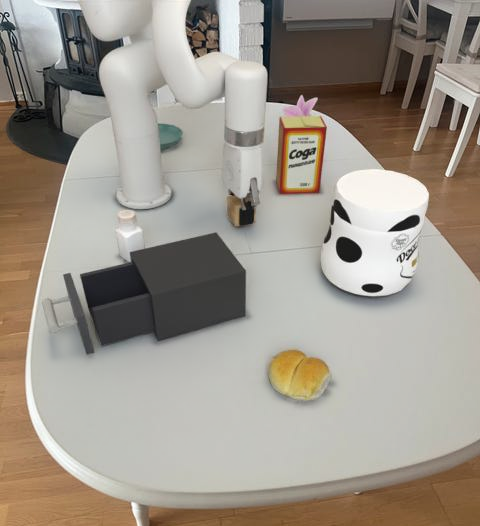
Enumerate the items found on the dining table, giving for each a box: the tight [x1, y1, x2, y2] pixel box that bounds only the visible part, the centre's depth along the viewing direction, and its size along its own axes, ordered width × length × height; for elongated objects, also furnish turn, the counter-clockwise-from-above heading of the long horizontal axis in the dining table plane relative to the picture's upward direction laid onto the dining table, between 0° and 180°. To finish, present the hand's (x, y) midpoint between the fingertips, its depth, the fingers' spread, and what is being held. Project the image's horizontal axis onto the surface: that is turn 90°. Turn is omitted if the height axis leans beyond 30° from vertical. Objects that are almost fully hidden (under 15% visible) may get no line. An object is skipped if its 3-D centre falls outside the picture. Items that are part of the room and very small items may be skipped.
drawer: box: [41, 262, 155, 355], centre depth 83 cm, size 19×11×8 cm, turn 114°
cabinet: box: [130, 231, 247, 342], centre depth 88 cm, size 16×13×10 cm
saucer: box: [158, 123, 184, 151], centre depth 144 cm, size 15×15×3 cm
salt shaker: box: [115, 209, 146, 263], centre depth 99 cm, size 4×4×10 cm
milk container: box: [320, 168, 430, 298], centre depth 92 cm, size 17×17×18 cm
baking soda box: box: [275, 115, 328, 195], centre depth 120 cm, size 10×6×16 cm
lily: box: [282, 94, 319, 117], centre depth 149 cm, size 12×12×10 cm
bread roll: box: [268, 349, 332, 402], centre depth 76 cm, size 8×9×4 cm
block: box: [226, 195, 257, 227], centre depth 109 cm, size 5×5×5 cm
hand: (241, 217), depth 111 cm, fingers closed on block, 4 cm apart
